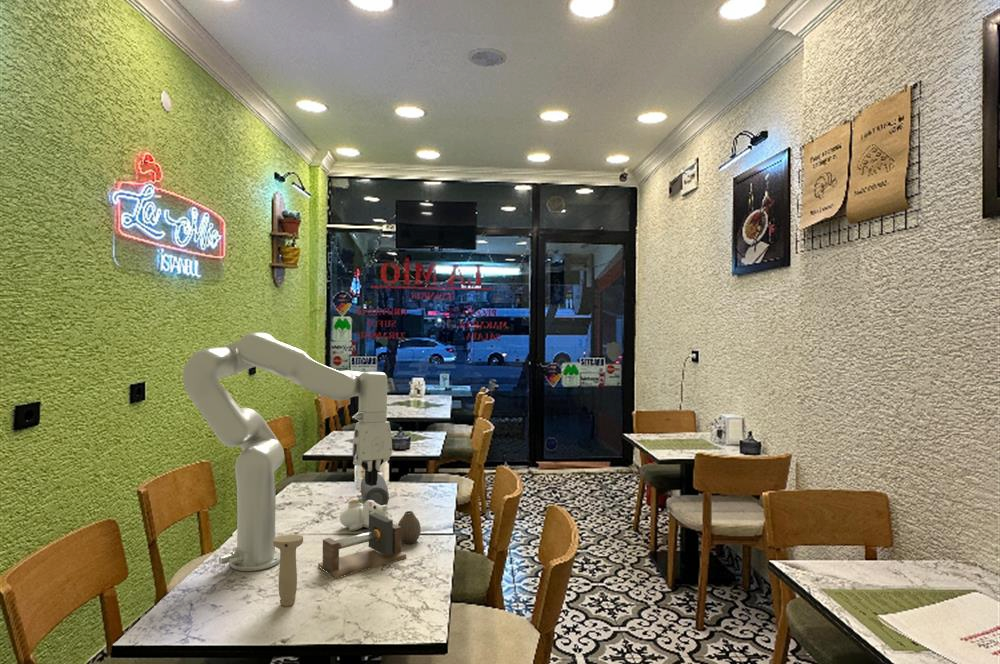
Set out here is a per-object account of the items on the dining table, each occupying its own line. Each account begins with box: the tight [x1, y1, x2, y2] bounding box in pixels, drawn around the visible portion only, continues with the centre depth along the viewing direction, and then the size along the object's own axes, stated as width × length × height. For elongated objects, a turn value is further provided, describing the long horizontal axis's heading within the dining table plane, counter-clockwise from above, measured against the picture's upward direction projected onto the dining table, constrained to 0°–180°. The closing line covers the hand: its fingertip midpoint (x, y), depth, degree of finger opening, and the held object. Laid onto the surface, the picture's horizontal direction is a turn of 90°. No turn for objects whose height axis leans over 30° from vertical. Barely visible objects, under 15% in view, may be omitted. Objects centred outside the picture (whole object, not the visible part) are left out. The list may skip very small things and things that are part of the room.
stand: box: [317, 523, 407, 579], centre depth 163 cm, size 21×10×8 cm, turn 133°
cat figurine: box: [339, 498, 389, 532], centre depth 192 cm, size 10×8×15 cm
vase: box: [397, 510, 421, 545], centre depth 180 cm, size 7×7×9 cm
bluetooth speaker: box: [360, 473, 390, 506], centre depth 216 cm, size 23×9×10 cm, turn 15°
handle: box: [273, 534, 304, 608], centre depth 138 cm, size 5×6×15 cm
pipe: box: [334, 529, 381, 550], centre depth 163 cm, size 18×3×3 cm, turn 133°
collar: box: [368, 513, 394, 555], centre depth 167 cm, size 2×9×9 cm, turn 43°
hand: (371, 484), depth 165 cm, fingers closed
